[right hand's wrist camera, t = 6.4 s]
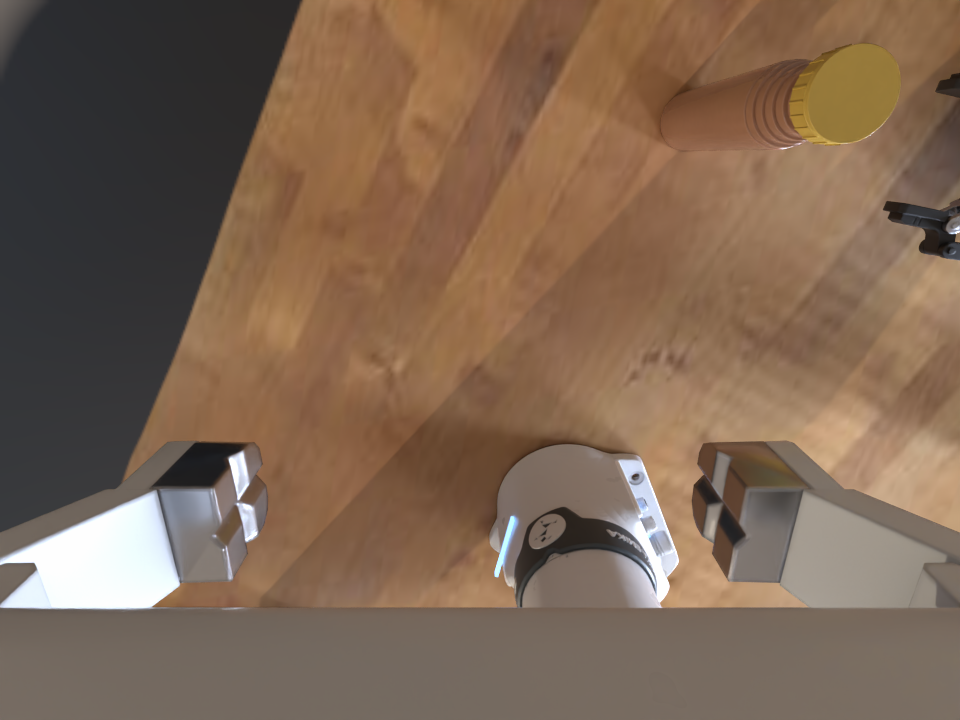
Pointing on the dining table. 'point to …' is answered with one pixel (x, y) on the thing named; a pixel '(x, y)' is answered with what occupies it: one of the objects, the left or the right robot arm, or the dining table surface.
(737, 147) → the bottle
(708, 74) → the dining table surface
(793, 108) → the cap
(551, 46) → the dining table surface
